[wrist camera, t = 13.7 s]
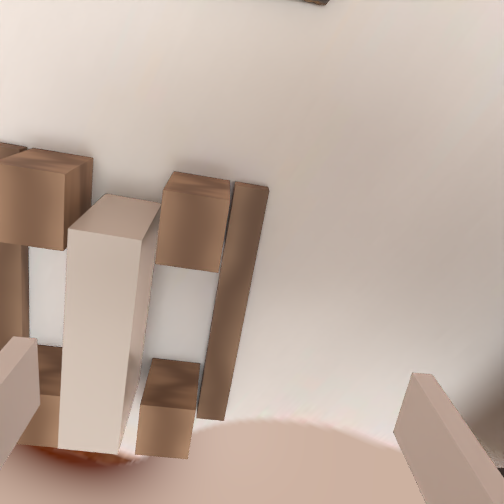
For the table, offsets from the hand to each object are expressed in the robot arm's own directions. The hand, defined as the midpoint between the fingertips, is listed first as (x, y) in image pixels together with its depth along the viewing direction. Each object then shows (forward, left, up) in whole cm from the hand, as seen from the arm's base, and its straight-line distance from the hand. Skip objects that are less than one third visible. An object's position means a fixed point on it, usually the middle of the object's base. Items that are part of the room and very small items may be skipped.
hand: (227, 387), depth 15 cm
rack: (+9, +11, -26) cm, 30 cm away
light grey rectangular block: (+9, +11, -26) cm, 30 cm away
